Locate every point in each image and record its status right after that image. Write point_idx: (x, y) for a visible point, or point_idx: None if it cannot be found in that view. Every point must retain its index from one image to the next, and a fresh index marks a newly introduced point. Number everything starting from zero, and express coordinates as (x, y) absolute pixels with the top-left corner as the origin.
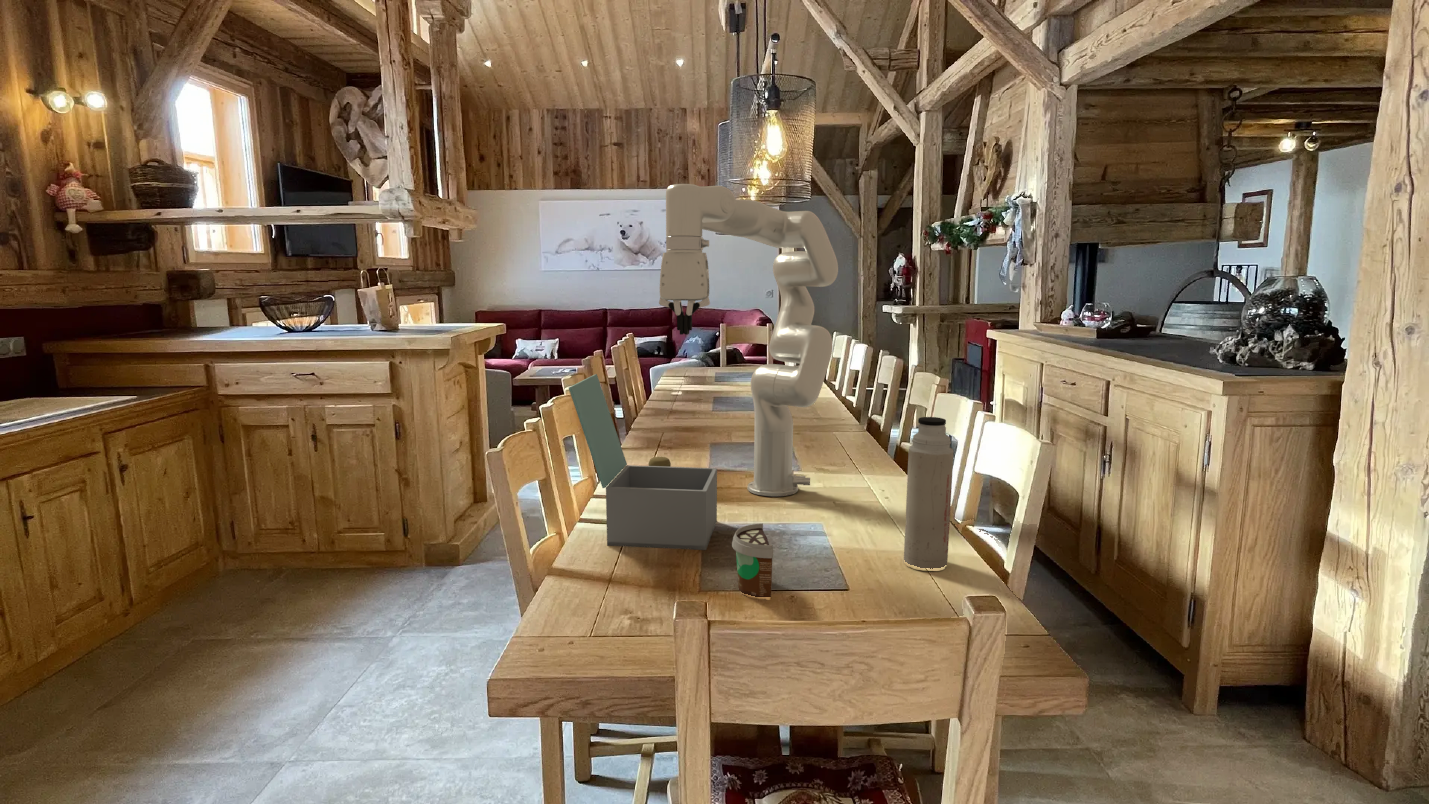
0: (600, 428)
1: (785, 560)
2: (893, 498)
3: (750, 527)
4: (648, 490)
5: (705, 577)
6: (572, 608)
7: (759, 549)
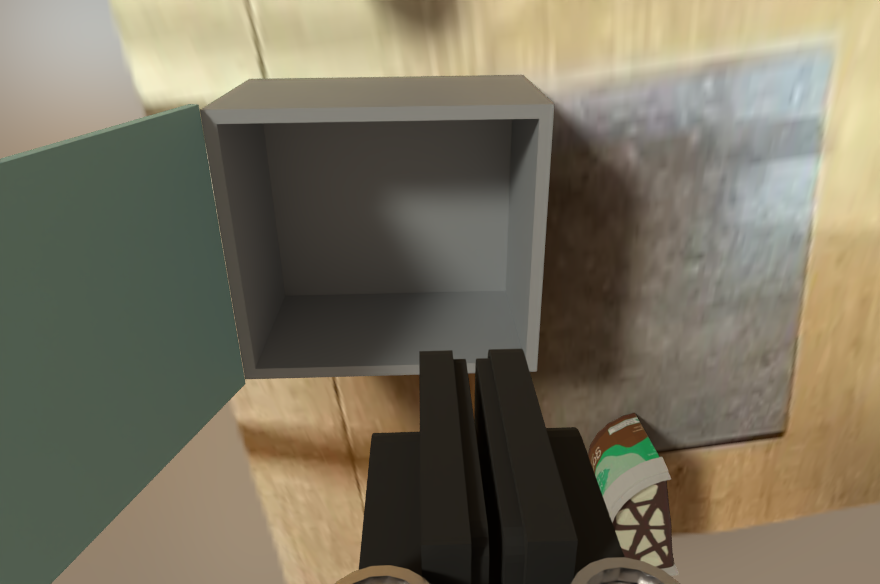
0: (104, 347)
1: (689, 325)
2: None
3: (641, 485)
4: (371, 374)
5: None
6: (329, 549)
7: None
